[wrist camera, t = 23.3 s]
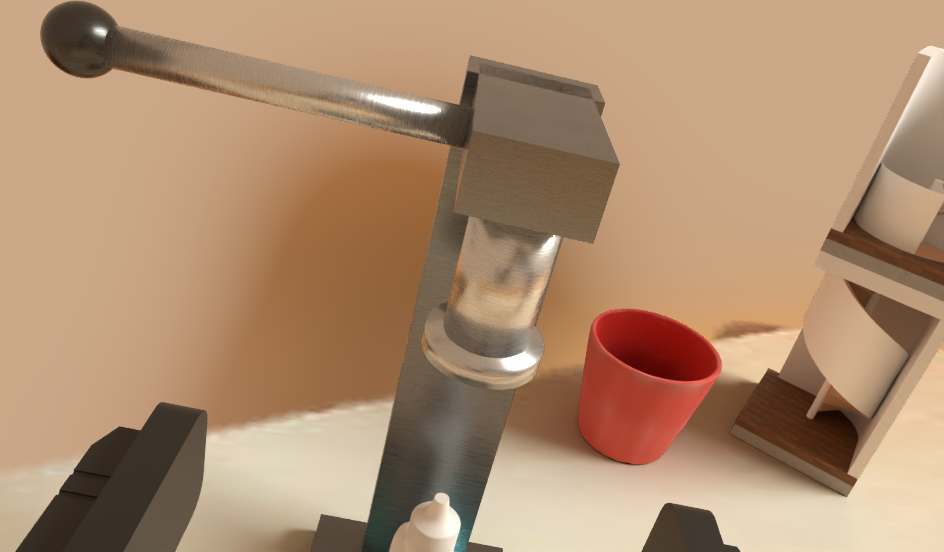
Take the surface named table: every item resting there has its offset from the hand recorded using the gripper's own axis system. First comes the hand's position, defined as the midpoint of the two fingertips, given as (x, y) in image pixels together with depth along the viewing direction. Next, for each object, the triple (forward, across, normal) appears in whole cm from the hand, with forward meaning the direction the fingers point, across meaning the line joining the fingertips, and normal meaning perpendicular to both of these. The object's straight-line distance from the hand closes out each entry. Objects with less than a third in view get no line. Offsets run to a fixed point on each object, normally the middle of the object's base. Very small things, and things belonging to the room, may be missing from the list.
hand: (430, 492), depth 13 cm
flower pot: (+42, -19, +30) cm, 55 cm away
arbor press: (+17, +4, +30) cm, 35 cm away
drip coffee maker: (+48, -38, +30) cm, 68 cm away
